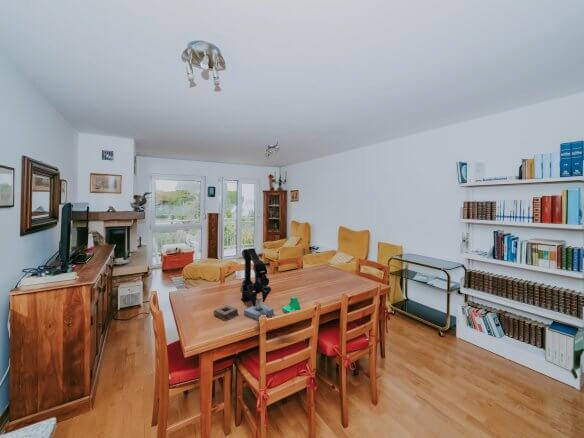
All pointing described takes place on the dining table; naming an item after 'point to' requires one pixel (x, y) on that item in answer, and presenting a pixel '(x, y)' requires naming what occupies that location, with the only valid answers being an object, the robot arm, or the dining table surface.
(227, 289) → the dining table surface
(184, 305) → the dining table surface
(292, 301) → the camera mount
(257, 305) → the pin
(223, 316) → the mount block
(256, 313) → the socket plate
